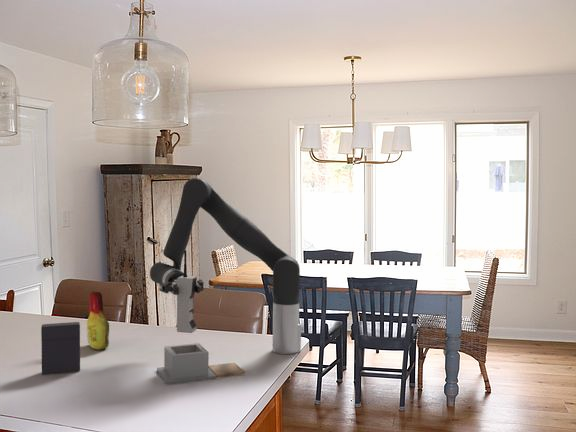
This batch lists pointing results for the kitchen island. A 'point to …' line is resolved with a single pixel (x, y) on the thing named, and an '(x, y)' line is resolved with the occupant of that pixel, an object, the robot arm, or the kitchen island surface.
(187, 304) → the vintage mobile phone
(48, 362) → the calculator
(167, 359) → the box
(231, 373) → the walnut pad
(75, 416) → the kitchen island surface
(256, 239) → the robot arm
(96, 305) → the bottle
